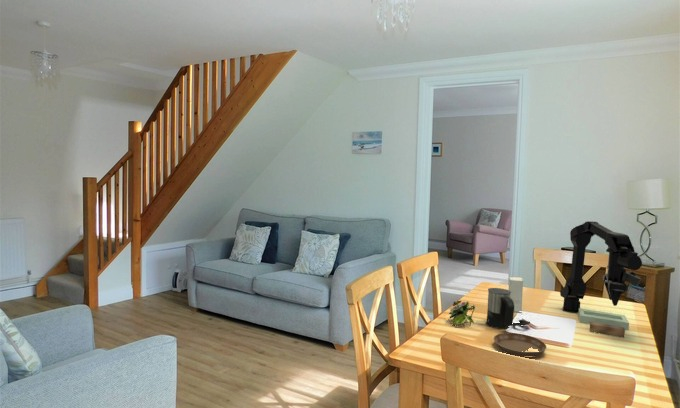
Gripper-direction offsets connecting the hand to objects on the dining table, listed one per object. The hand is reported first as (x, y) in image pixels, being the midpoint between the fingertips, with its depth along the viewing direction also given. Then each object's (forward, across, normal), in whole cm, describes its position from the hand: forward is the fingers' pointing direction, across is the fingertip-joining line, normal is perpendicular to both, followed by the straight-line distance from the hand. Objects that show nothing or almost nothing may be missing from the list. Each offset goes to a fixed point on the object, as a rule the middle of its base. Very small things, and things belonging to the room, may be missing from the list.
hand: (613, 302), depth 182 cm
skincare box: (+12, +12, +37) cm, 41 cm away
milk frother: (+13, -14, +39) cm, 43 cm away
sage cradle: (+12, +14, +1) cm, 19 cm away
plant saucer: (+13, -38, +34) cm, 52 cm away
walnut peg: (+13, -2, +2) cm, 13 cm away
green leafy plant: (+13, -21, +56) cm, 61 cm away
